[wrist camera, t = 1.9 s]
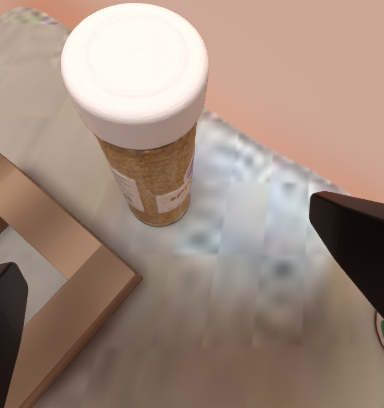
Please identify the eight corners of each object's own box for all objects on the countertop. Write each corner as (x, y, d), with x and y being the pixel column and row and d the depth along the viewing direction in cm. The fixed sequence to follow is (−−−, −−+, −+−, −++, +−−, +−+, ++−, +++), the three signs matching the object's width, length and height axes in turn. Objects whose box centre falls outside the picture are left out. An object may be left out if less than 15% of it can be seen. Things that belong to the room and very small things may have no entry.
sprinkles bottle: (193, 224, 21) (220, 113, 8) (128, 230, 21) (52, 124, 8) (186, 165, 22) (201, -7, 10) (126, 170, 22) (57, -4, 9)
